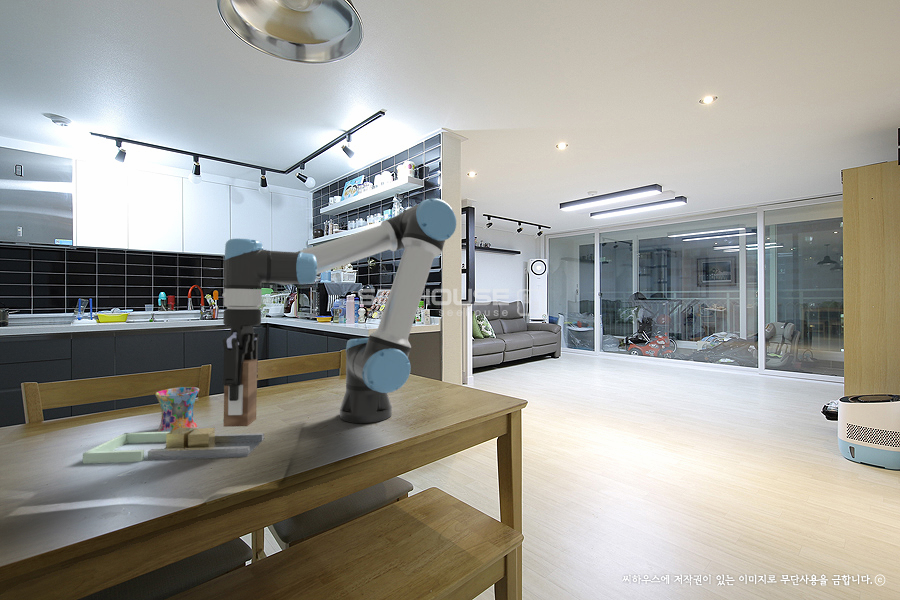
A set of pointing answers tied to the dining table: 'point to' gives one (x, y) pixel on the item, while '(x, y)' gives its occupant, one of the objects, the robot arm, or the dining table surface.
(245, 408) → the block
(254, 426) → the dining table surface
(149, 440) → the tray
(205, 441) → the tan boxy piece
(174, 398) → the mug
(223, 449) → the slot rail
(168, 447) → the chip
